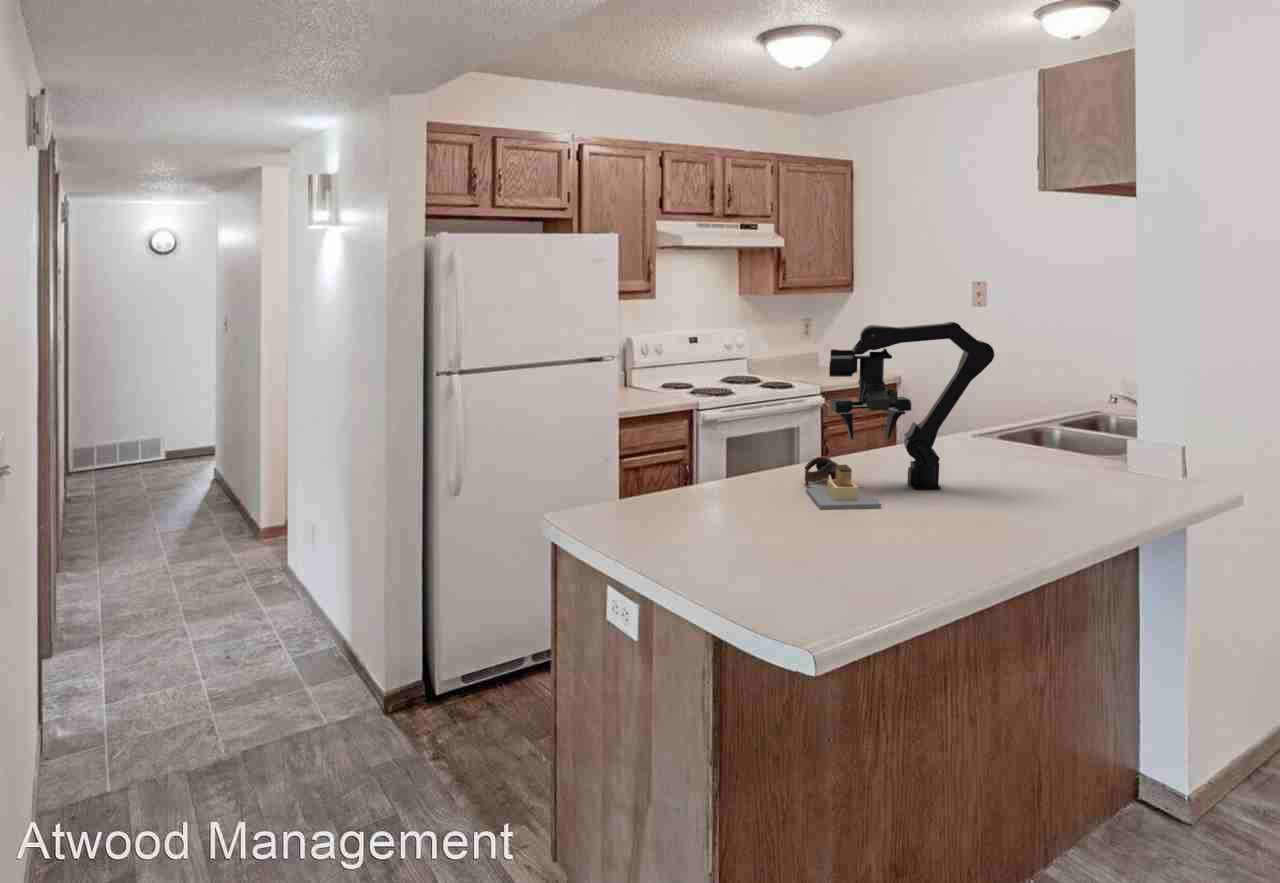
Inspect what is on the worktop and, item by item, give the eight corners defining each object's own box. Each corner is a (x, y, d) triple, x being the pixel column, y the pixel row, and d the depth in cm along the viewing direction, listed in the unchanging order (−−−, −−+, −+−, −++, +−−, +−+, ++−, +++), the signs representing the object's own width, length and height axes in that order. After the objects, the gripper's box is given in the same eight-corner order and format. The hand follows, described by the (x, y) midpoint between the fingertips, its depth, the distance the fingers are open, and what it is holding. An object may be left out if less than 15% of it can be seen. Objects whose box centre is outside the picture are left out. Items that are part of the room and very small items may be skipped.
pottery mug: (850, 490, 216) (837, 464, 213) (815, 505, 219) (802, 480, 216) (841, 468, 227) (829, 443, 224) (808, 483, 229) (795, 458, 226)
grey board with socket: (862, 490, 213) (863, 475, 213) (881, 508, 198) (881, 491, 197) (806, 492, 213) (806, 476, 213) (819, 509, 198) (820, 492, 197)
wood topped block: (845, 493, 208) (846, 464, 206) (850, 498, 203) (851, 469, 201) (835, 493, 208) (835, 464, 206) (840, 498, 203) (840, 469, 201)
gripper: (842, 381, 206) (841, 446, 209) (920, 379, 206) (917, 443, 209) (830, 376, 217) (829, 437, 219) (904, 374, 217) (902, 435, 220)
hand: (869, 438), depth 217 cm, fingers open, 9 cm apart
